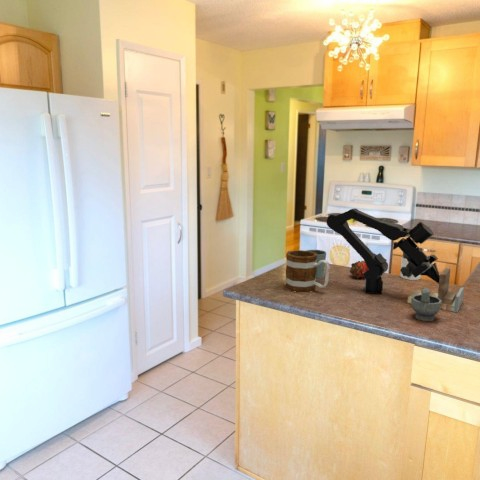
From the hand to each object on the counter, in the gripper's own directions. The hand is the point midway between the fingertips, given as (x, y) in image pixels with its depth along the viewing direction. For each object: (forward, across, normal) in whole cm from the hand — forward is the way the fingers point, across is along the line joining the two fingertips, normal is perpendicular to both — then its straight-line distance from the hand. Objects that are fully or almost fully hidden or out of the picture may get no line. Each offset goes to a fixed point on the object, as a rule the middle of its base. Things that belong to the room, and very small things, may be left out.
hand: (440, 283), depth 164 cm
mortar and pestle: (+5, +19, -7) cm, 21 cm away
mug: (-29, +13, -40) cm, 51 cm away
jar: (-6, -30, -18) cm, 36 cm away
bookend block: (+6, 0, -2) cm, 7 cm away
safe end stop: (+11, 0, -1) cm, 11 cm away
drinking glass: (-33, -5, -44) cm, 55 cm away
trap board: (+4, 0, -7) cm, 8 cm away
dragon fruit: (-20, -18, -32) cm, 42 cm away
